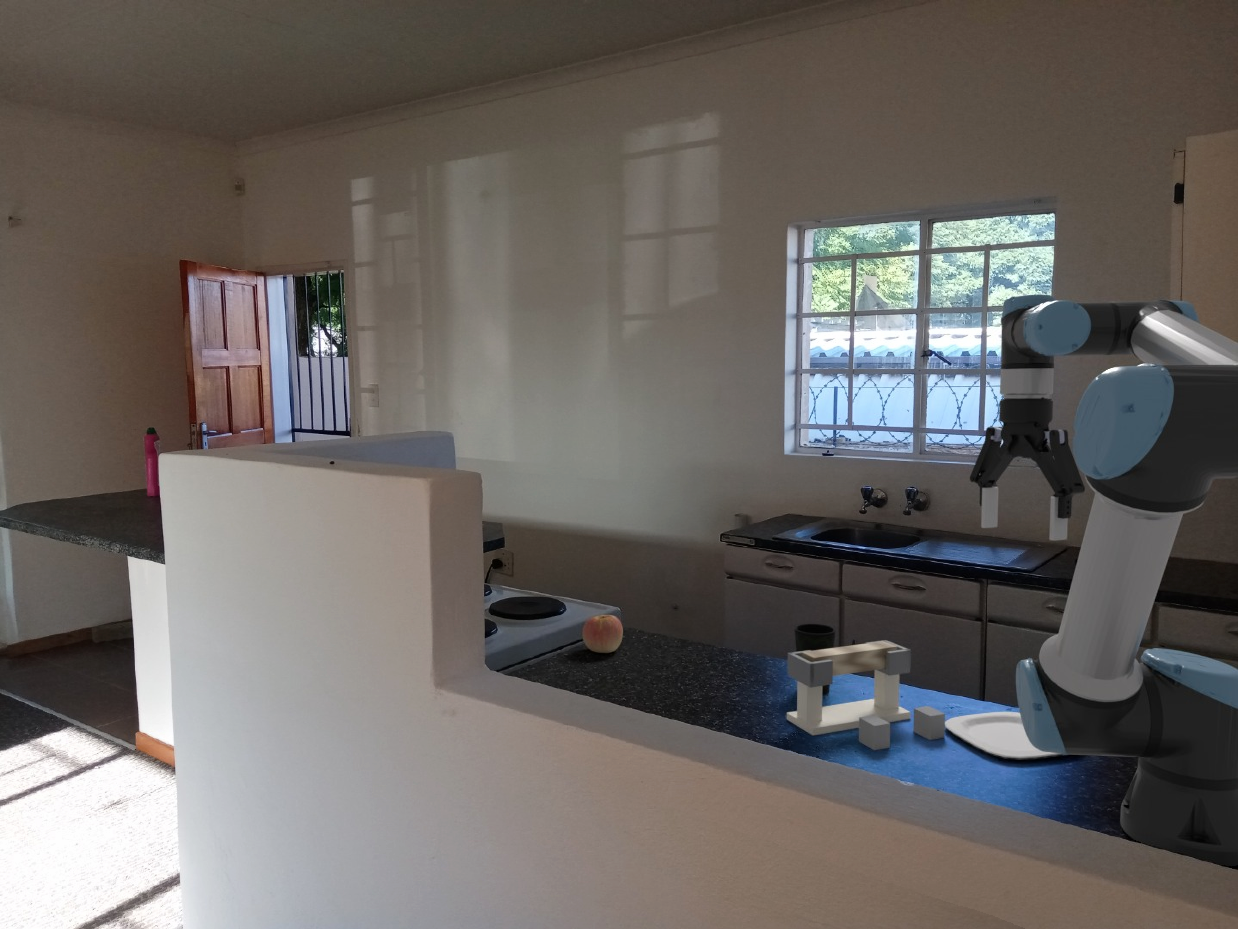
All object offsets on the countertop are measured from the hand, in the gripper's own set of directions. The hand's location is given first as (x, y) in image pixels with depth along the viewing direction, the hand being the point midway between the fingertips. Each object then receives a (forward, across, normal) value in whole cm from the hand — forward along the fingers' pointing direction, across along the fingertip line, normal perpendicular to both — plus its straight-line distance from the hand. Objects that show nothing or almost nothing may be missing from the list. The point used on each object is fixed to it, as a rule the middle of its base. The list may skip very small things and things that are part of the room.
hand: (1022, 533), depth 141 cm
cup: (+35, +36, +13) cm, 52 cm away
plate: (+35, +3, -2) cm, 35 cm away
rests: (+35, +10, +14) cm, 39 cm away
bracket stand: (+35, +21, +16) cm, 44 cm away
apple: (+35, +76, +41) cm, 93 cm away
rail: (+26, +21, +16) cm, 37 cm away
